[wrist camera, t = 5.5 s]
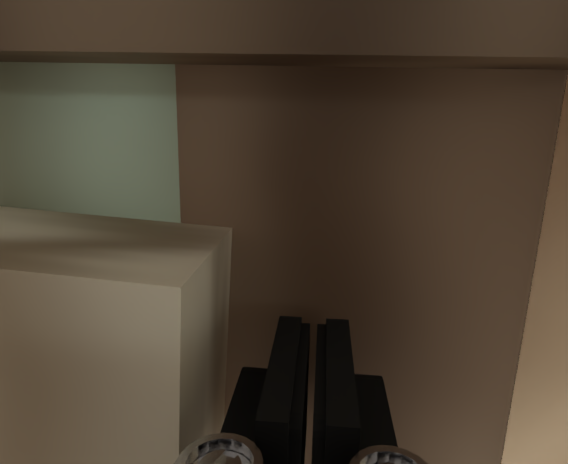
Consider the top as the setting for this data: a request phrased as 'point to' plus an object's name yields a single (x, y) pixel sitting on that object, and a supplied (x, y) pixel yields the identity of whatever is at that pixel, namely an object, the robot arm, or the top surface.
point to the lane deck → (316, 171)
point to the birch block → (110, 337)
